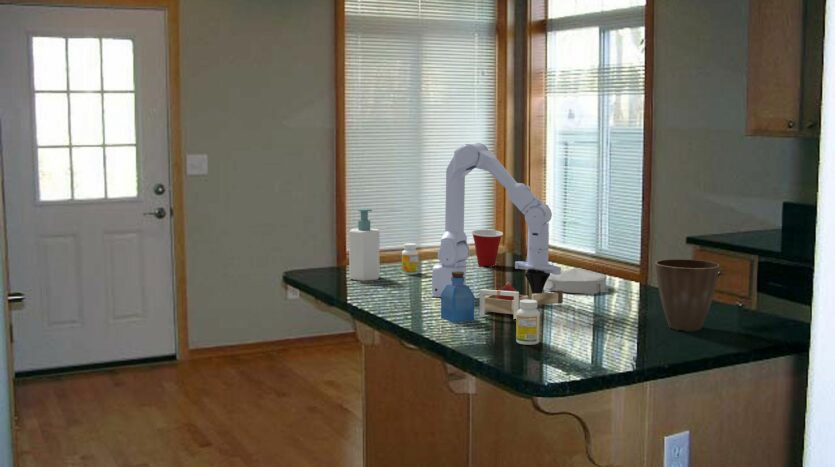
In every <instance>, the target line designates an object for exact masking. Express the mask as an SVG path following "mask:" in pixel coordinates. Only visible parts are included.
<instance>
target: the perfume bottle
mask: <svg viewBox="0 0 835 467" xmlns="http://www.w3.org/2000/svg"><path fill="white" fill-rule="evenodd" d="M463 275H464V272H452V277H451V281H452V284H451V285H447V286H446V287H445V289H444V290H443V292H442V293H441V297H440V319H442V320H445V321H447V322H450V323H462V322H469V321H475V295H474V293H473V292H472V289H471V288H470V286H469V285H467V284H466V285H463V282H464V281H465V277H463Z"/></svg>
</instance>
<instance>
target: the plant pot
mask: <svg viewBox="0 0 835 467" xmlns="http://www.w3.org/2000/svg"><path fill="white" fill-rule="evenodd" d="M654 263H655V272H656V273H655V274H656V280H657V286H658V292H659V297H660V300H661V301H660V302H661V305H662V310H663V312H664V316H665V319H666V321H667V324H668V328H670V327H671V328H674V329H680V330H689V331H688V332H692V331H691V330H698V329H700V330H701V329H702V327H703V325H704V322H705V321H706V319H707V315H708V313H709V310H710V307H711V304H712V302H713V301H712V300H713V298H714V294H715V290H716V286H717V282H718V276H719V272H720V271H719V270H720V264H719V263H717V262H712V261H708V260H707V261H706V260H699V259H682V258H680V259H679V258H677V259H675V258H674V259H671V258H670V259H661V260H657V261H655V262H654ZM671 328H670V329H671ZM698 331H699V330H698Z"/></svg>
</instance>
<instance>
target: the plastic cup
mask: <svg viewBox="0 0 835 467" xmlns="http://www.w3.org/2000/svg"><path fill="white" fill-rule="evenodd" d="M471 234H472V236H473V237H472V238H473V241H474V250H475V254H476V260H477V264H478V265H479V267H481V266H493V265H495V266H496V263H497V257H498V252H499V248H500V242H501V239H502V236H503V235H504V233H503V232H502V231H499V230H495V229H475V230H472V231H471Z"/></svg>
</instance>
